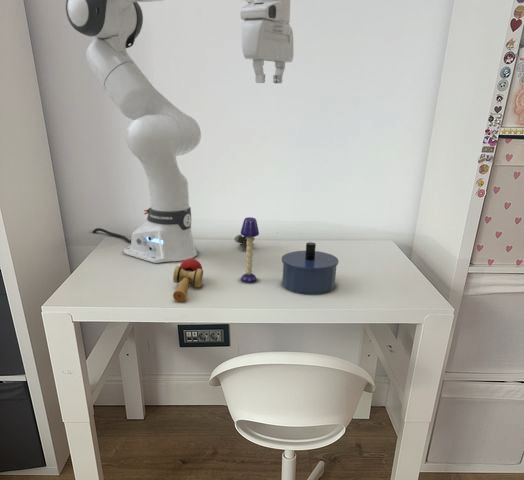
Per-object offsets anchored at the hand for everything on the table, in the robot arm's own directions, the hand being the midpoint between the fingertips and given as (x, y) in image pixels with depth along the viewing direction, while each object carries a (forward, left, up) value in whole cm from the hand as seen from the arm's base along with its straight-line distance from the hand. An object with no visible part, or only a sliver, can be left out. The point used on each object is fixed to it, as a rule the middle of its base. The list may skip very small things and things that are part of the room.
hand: (269, 83), depth 118 cm
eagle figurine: (-15, +18, -47) cm, 53 cm away
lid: (+15, -4, -40) cm, 43 cm away
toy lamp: (0, -9, -47) cm, 48 cm away
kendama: (-11, -22, -47) cm, 53 cm away
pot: (+15, -4, -47) cm, 49 cm away
